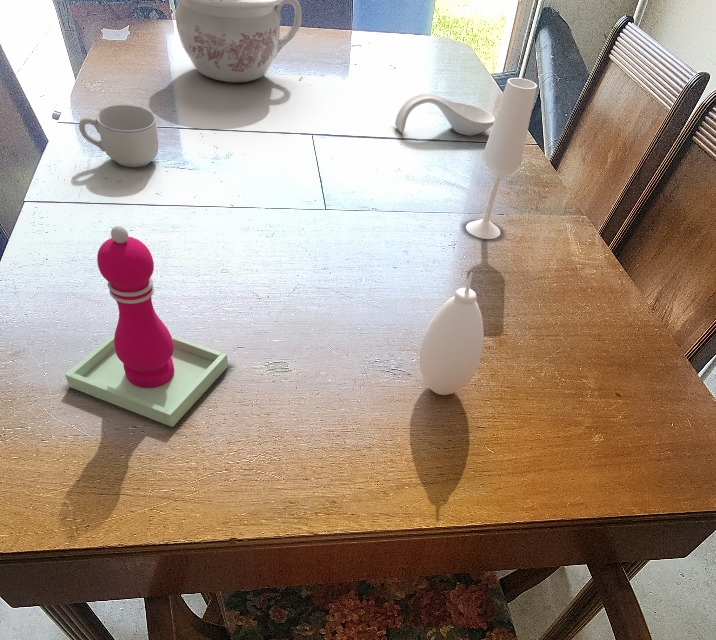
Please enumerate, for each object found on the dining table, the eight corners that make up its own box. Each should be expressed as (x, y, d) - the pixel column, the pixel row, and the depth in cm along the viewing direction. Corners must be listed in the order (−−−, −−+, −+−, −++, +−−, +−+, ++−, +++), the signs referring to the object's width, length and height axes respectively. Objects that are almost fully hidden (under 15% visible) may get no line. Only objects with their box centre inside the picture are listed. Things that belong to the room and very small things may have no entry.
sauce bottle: (451, 367, 88) (483, 251, 74) (478, 401, 84) (517, 285, 70) (404, 377, 86) (427, 259, 72) (429, 413, 82) (459, 295, 68)
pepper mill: (126, 395, 78) (86, 247, 62) (118, 360, 81) (78, 213, 66) (183, 385, 80) (158, 240, 64) (172, 352, 84) (146, 207, 68)
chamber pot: (153, 75, 147) (136, -37, 130) (212, 47, 163) (204, -56, 147) (255, 103, 142) (251, -10, 126) (306, 72, 158) (308, -32, 142)
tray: (69, 387, 78) (64, 374, 77) (132, 331, 86) (129, 319, 85) (172, 427, 76) (170, 415, 74) (228, 366, 84) (227, 354, 82)
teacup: (165, 151, 123) (159, 106, 116) (158, 175, 116) (151, 129, 110) (94, 146, 121) (83, 100, 115) (82, 170, 114) (71, 123, 108)
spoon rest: (480, 120, 149) (488, 86, 143) (499, 140, 142) (508, 106, 137) (389, 120, 143) (394, 85, 138) (405, 141, 137) (410, 106, 131)
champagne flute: (465, 235, 113) (501, 86, 94) (466, 218, 117) (501, 72, 98) (500, 241, 113) (544, 93, 94) (500, 224, 117) (541, 79, 98)
